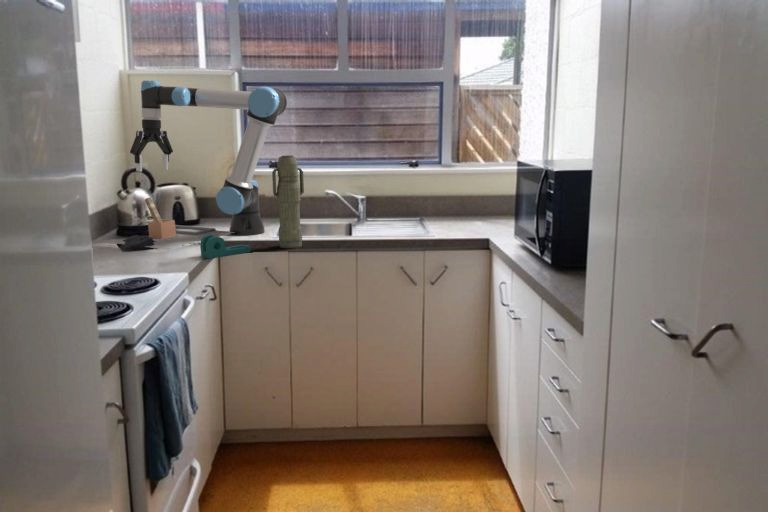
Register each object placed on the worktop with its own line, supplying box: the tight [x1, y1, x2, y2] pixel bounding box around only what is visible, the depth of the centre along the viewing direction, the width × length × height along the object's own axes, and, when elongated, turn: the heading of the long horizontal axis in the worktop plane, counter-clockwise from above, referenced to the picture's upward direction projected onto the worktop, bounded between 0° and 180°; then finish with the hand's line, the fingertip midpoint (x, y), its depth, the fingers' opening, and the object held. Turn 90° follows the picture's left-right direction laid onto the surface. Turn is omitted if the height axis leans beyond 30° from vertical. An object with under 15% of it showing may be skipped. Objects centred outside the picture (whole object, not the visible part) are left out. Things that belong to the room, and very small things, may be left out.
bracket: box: [199, 234, 251, 260], centre depth 257 cm, size 18×7×8 cm, turn 130°
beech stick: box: [144, 197, 162, 222], centre depth 291 cm, size 10×2×17 cm, turn 60°
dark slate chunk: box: [116, 234, 159, 253], centre depth 278 cm, size 15×22×5 cm
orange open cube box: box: [147, 218, 177, 239], centre depth 290 cm, size 8×8×8 cm
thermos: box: [271, 155, 305, 249], centre depth 266 cm, size 9×12×35 cm
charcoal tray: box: [175, 224, 216, 236], centre depth 304 cm, size 26×12×2 cm, turn 60°
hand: (152, 170), depth 290 cm, fingers open, 13 cm apart
